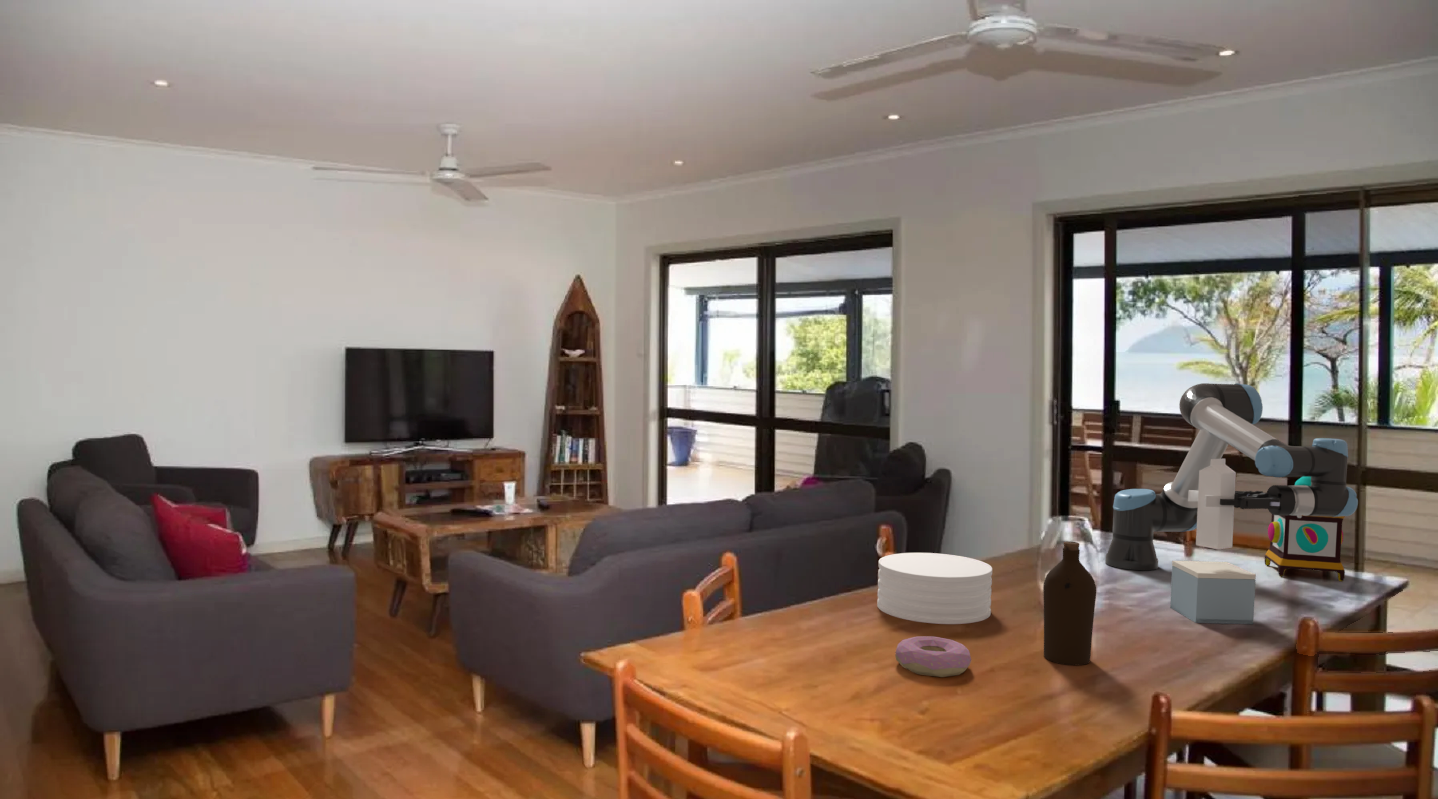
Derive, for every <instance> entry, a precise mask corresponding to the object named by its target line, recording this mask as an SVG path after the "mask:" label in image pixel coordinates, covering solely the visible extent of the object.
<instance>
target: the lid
mask: <svg viewBox="0 0 1438 799" xmlns="http://www.w3.org/2000/svg"><path fill="white" fill-rule="evenodd" d="M1172 566H1174V567H1177V568H1179V569H1181V570H1183V571H1185V572H1187V573H1189V574H1191V575H1193V576H1195V577H1197V578H1218V579H1255V580H1256V577H1257V576H1256V573H1254V572H1251V571H1248V570H1246V569H1244V568H1242V567H1240V566H1238V565H1235V564H1233V563H1230V562H1228V561H1206V560H1205V561H1204V560H1203V561H1200V560H1196V561H1192V560H1191V561H1190V560H1172V562H1171V567H1172Z"/></svg>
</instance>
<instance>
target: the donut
mask: <svg viewBox="0 0 1438 799" xmlns="http://www.w3.org/2000/svg"><path fill="white" fill-rule="evenodd" d="M894 653H895V654H894V656H895V660H896V662H898V663H899V664H900V666H901V667H902V668H903V669H906V670H908V671H910V672H912V673H915V674H917V675H922V676H929V677H930V676H931V677H937V678H939V677H940V678H945V677H954V676H959V675H961V674H963V673H964V672H965V671H966V670H967V669H968V667H970V665H971V662H972V657H971V653H970V650H969V649H968V648H967V646H965V645H964V644H962V643H961V642H958V641H955V640H953V639H949V638H945V637H944V638H943V637H939V636H932V635H931V636H930V635H929V636H927V635H926V636H923V635H922V636H913V637H909V638H905V639H902V640H901V641H900V642H899V643H897V646H896V649H895V652H894Z"/></svg>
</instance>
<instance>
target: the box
mask: <svg viewBox="0 0 1438 799" xmlns="http://www.w3.org/2000/svg"><path fill="white" fill-rule="evenodd" d="M1256 582H1257V581H1256V579H1218V578H1197V577H1195V576H1193V575H1191V574H1189V573H1187V572H1185V571H1183V570H1181V569H1179V568H1177V567H1174V566H1172V565H1171V583H1170V604H1169V606H1170V609H1172V610H1173V611H1175V612H1177V613H1178V614H1180V615H1182V616H1183V617H1185V618H1187V619H1188V620H1190V621H1192V622H1194V623H1195V624H1197V623H1198V624H1224V625H1225V624H1226V625H1227V624H1230V625H1231V624H1232V625H1233V624H1234V625H1254V617H1255V616H1254V613H1255V600H1256V599H1255V598H1256V596H1255V595H1256Z"/></svg>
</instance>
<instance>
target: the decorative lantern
mask: <svg viewBox="0 0 1438 799" xmlns="http://www.w3.org/2000/svg"><path fill="white" fill-rule="evenodd" d="M1294 485H1303V486H1311V477H1300V478H1298V479H1297V480H1296V481H1295V482H1294ZM1345 518H1346V516H1337V517H1327V516H1303V515H1302V517H1301V518H1298V517H1297V516H1296V515H1273V514H1271V519H1270V520H1271V522H1270V523H1269V525H1268V528H1267V536H1268V540H1269V541H1270V542H1269V548H1268V550H1267V551H1266V552H1265V555H1264V564H1265V566H1266V565H1269V566H1270V565H1271V563H1273V564H1274V565H1276V566H1277V568H1278V569H1277V570H1278V576H1279V577H1280V576H1283V577H1284V576H1285V571H1286V570H1289V569H1290V570H1292V569H1293V570H1305V571H1306V570H1307V571H1319V572H1331V573H1333V572H1334V573H1337V580H1338V582H1343V581H1344V580H1345V576H1346V570H1345V567H1344V566H1343V563H1342V561H1341V551H1342V544H1343V542H1344V532H1343V521H1344V519H1345Z"/></svg>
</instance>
